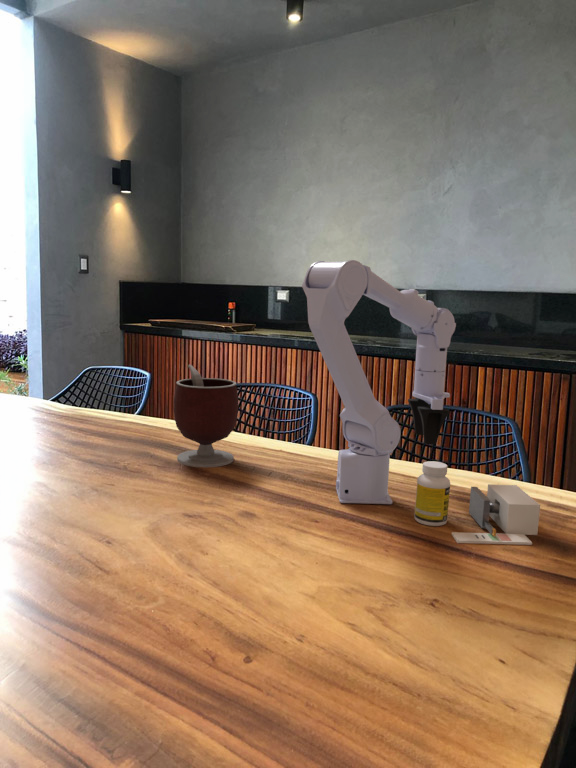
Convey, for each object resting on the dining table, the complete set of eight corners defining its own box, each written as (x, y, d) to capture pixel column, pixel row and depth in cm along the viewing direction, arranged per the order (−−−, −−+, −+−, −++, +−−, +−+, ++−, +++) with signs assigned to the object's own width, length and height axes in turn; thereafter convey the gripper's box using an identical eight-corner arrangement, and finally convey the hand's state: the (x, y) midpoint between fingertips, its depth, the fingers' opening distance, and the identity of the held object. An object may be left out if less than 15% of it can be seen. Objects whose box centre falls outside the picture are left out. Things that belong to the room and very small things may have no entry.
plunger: (491, 539, 96) (493, 510, 95) (468, 512, 107) (470, 486, 106) (542, 540, 96) (545, 511, 95) (514, 513, 107) (517, 487, 106)
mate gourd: (248, 463, 134) (251, 371, 131) (190, 472, 126) (191, 375, 123) (215, 446, 146) (216, 363, 143) (160, 454, 139) (160, 365, 136)
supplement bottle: (448, 528, 100) (452, 470, 99) (414, 525, 101) (418, 467, 100) (446, 516, 105) (450, 461, 104) (414, 513, 106) (417, 458, 105)
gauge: (457, 542, 94) (459, 511, 94) (434, 510, 108) (436, 482, 108) (548, 545, 95) (551, 514, 94) (513, 512, 109) (516, 485, 108)
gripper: (461, 376, 112) (456, 449, 114) (441, 366, 126) (436, 431, 128) (422, 374, 111) (418, 448, 113) (406, 365, 126) (402, 430, 128)
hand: (425, 439), depth 121 cm, fingers open, 7 cm apart
